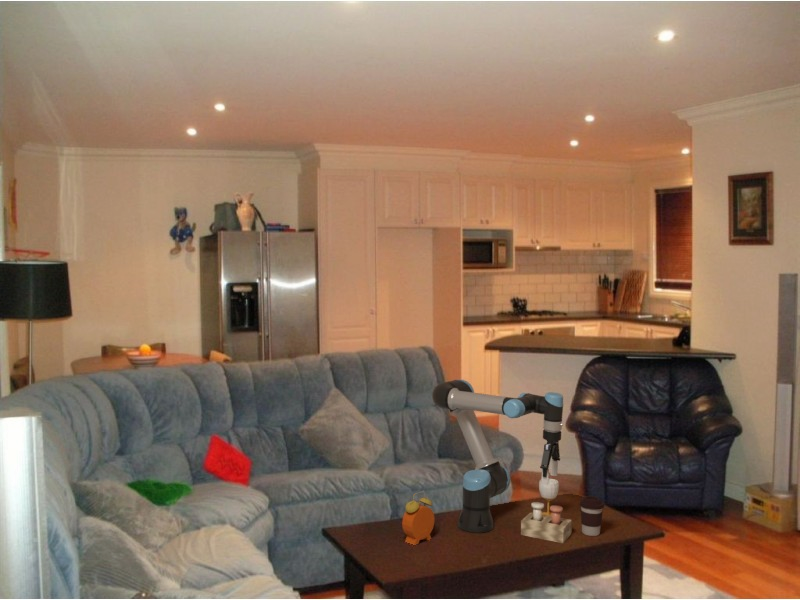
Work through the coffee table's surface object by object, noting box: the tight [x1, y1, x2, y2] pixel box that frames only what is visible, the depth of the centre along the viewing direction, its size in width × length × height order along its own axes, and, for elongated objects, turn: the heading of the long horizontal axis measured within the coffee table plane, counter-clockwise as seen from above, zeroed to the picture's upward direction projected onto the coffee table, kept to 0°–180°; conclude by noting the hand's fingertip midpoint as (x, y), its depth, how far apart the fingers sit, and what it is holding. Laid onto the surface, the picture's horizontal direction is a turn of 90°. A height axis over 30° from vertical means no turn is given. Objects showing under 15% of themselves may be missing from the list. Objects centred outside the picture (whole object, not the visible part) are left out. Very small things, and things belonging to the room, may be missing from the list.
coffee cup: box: [579, 495, 605, 537], centre depth 314 cm, size 10×10×15 cm
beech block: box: [520, 512, 573, 544], centre depth 312 cm, size 18×12×6 cm, turn 61°
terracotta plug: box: [549, 504, 564, 525], centre depth 310 cm, size 5×5×8 cm
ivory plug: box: [530, 501, 545, 521], centre depth 314 cm, size 5×5×8 cm
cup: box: [538, 478, 560, 516], centre depth 334 cm, size 9×9×16 cm
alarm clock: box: [401, 490, 436, 546], centre depth 302 cm, size 13×6×20 cm, turn 134°
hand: (549, 479), depth 312 cm, fingers open, 13 cm apart
